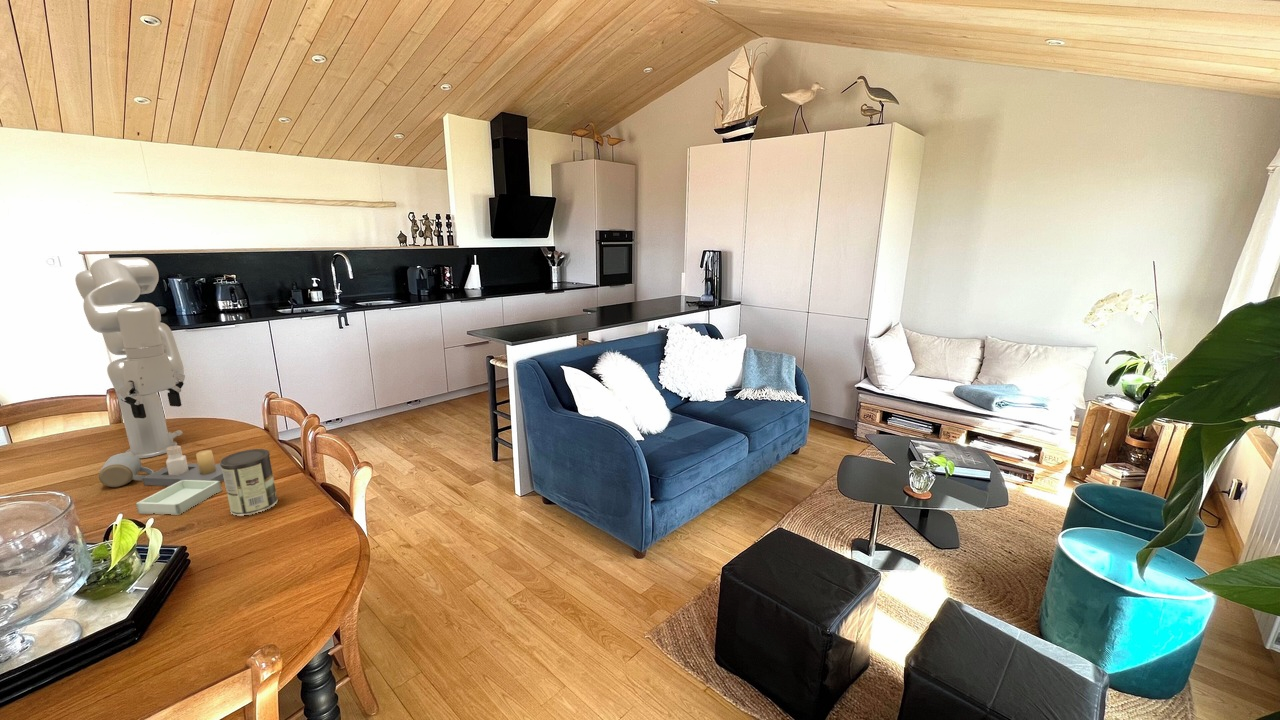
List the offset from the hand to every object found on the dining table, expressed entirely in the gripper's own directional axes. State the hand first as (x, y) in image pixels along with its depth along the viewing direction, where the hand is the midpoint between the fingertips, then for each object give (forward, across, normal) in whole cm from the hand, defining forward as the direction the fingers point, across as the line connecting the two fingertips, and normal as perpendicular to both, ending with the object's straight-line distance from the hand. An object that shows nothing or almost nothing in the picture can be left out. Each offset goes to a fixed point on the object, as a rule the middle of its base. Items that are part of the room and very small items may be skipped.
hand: (158, 411), depth 145 cm
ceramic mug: (+22, +2, -13) cm, 25 cm away
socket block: (+21, -2, +4) cm, 22 cm away
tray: (+21, +10, +14) cm, 27 cm away
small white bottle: (+21, -2, 0) cm, 22 cm away
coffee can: (+21, +9, +34) cm, 42 cm away
